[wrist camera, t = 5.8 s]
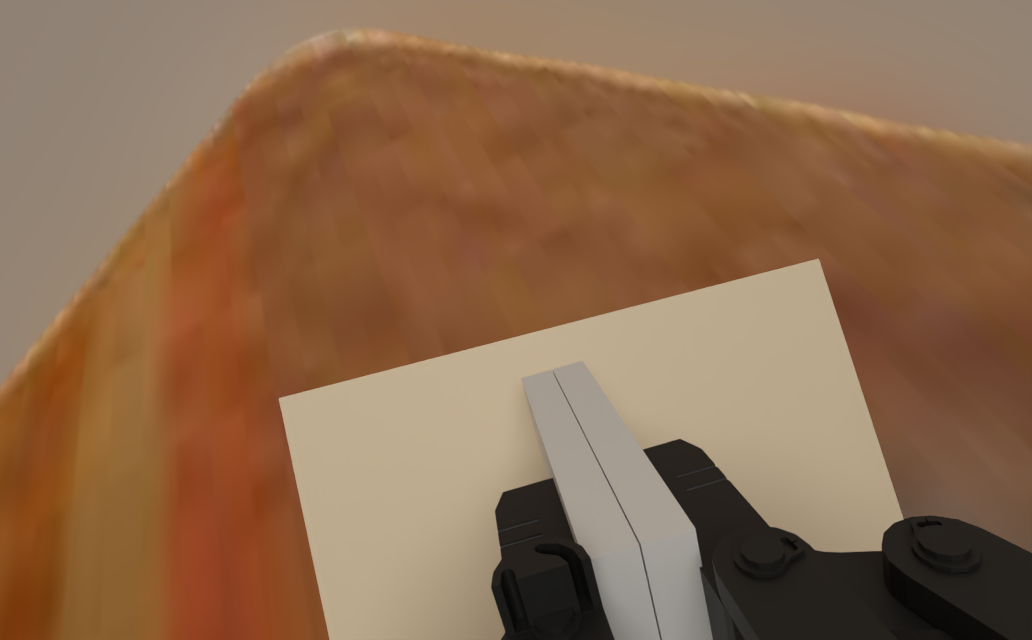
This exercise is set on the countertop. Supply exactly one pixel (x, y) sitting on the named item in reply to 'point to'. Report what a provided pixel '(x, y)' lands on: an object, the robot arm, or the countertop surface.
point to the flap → (518, 461)
